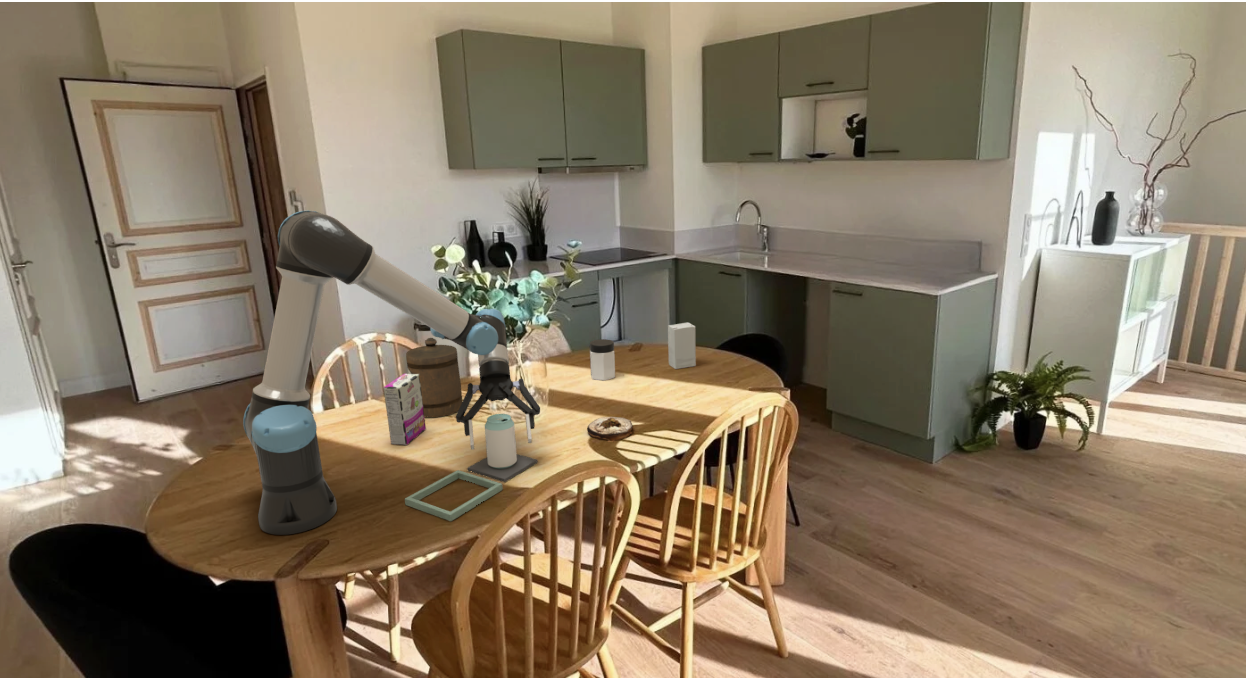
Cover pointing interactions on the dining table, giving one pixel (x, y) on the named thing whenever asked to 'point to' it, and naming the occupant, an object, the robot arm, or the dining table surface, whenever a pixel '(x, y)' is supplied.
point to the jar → (602, 359)
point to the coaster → (503, 473)
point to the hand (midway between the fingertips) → (501, 444)
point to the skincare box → (681, 345)
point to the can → (500, 441)
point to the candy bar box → (404, 409)
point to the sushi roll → (610, 428)
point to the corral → (450, 516)
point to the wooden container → (437, 377)
